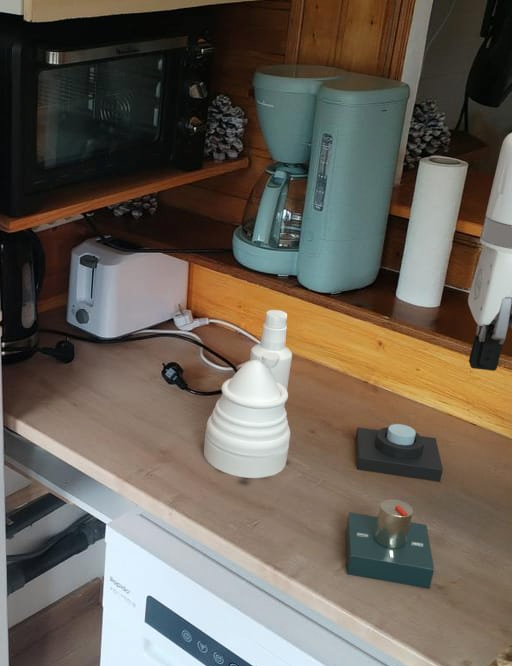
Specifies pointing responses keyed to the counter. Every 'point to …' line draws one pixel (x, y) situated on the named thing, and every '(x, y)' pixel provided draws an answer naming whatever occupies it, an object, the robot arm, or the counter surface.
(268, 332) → the spray bottle
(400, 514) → the dial
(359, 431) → the button base
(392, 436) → the light blue button cap
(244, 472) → the honey pot
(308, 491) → the counter surface
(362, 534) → the dial panel
